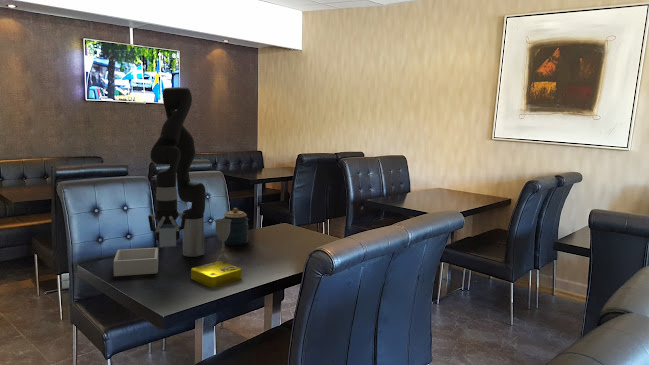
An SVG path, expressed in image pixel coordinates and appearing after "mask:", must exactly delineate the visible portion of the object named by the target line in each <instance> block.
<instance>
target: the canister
mask: <svg viewBox="0 0 649 365" xmlns="http://www.w3.org/2000/svg"><path fill="white" fill-rule="evenodd" d="M223 216H224V217H223V218H222V219H230V220H231V222H230V233H229V236H228V238H227V240H226V241H224V245H225V246H226V245H228V246H242V245H245V244H248V243H249V224H248V221H249V218H248V217H247V216H248V214H247V213H245V212H244V211H242V210H239V208H238V207H234V208H233V209H232V210H230V211H226V212H225V213H224V214H223Z"/></svg>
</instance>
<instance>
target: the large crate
mask: <svg viewBox="0 0 649 365" xmlns="http://www.w3.org/2000/svg"><path fill="white" fill-rule="evenodd" d="M112 263H113V277H123V276H124V277H125V276H135V275H136V276H137V275H139V276H140V275H149V274H150V275H151V274H158V271H159V270H158V269H159V247H145V248H144V247H143V248H126V249H123V248H122V249H117V250H116V254H115V257H114V260H113V262H112Z"/></svg>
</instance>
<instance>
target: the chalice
mask: <svg viewBox="0 0 649 365" xmlns="http://www.w3.org/2000/svg"><path fill="white" fill-rule="evenodd" d="M214 222H215V233H216V237H217V238H218V240H219V241H220V242H221V249H220V250H221V254H220V255H219V256H218V257H217V260H216V262H217V261H222V262H225V263H228V262H229V257H228V255H227V254H225V250H226V249H225V246H226V244H224V241H226V240H227V238H228V236H229V233H230V222H231V220H230V219H223V218H219V219H214Z"/></svg>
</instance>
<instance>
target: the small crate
mask: <svg viewBox="0 0 649 365" xmlns="http://www.w3.org/2000/svg"><path fill="white" fill-rule="evenodd" d="M176 246H177V241H176V226H175V227H174V226H173V224H165V225H163V224H162V226H161V227H159V248H164V247H176Z"/></svg>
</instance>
